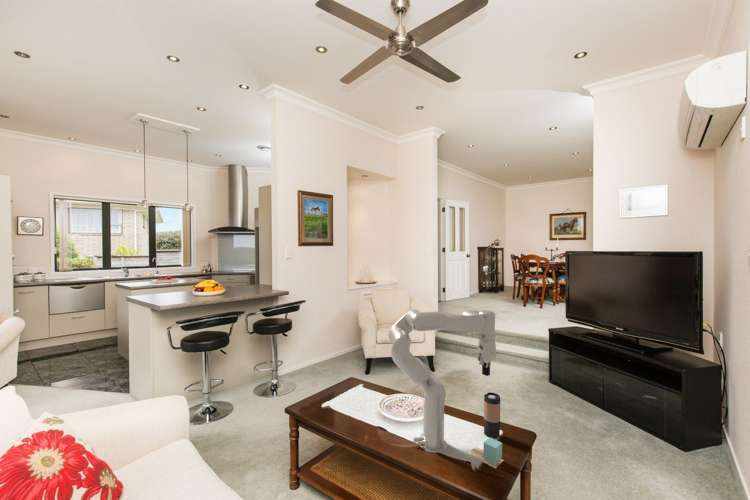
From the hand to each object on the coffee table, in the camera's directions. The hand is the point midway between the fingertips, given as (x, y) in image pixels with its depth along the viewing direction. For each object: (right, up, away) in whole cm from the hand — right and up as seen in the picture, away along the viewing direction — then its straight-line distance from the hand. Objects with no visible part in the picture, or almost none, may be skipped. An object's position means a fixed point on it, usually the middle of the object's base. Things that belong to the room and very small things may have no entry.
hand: (486, 374), depth 162 cm
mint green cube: (-2, -30, -15) cm, 34 cm away
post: (-2, -32, -15) cm, 35 cm away
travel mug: (+4, -32, +5) cm, 33 cm away
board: (-4, -33, -12) cm, 35 cm away
